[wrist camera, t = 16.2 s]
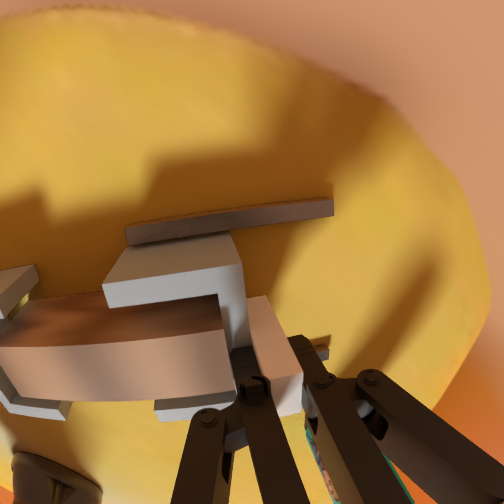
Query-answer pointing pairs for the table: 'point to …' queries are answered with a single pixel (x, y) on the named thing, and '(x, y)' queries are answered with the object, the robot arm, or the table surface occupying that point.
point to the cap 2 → (185, 296)
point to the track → (232, 225)
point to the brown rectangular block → (116, 349)
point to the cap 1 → (3, 301)
